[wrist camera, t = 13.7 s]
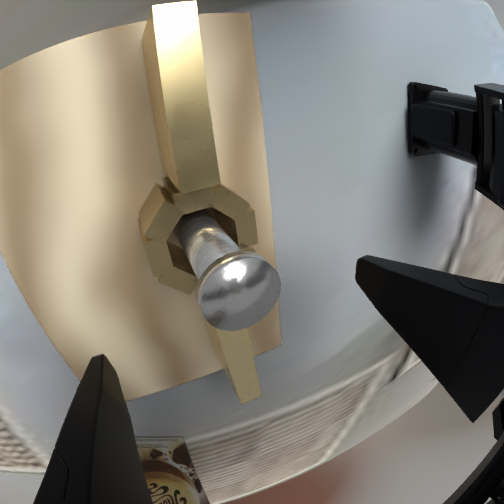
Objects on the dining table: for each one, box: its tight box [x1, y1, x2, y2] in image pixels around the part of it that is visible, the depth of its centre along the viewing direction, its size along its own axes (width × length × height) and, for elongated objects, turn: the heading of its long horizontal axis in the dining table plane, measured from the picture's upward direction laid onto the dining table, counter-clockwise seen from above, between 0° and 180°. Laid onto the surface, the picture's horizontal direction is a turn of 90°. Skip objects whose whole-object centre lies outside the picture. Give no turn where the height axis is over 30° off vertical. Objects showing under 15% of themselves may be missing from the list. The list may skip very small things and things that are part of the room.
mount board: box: [0, 13, 281, 401], centre depth 15 cm, size 16×24×1 cm, turn 7°
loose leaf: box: [195, 291, 262, 405], centre depth 17 cm, size 2×8×4 cm, turn 9°
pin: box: [173, 209, 281, 331], centre depth 13 cm, size 3×3×8 cm
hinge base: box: [138, 1, 258, 295], centre depth 12 cm, size 5×13×5 cm, turn 7°
